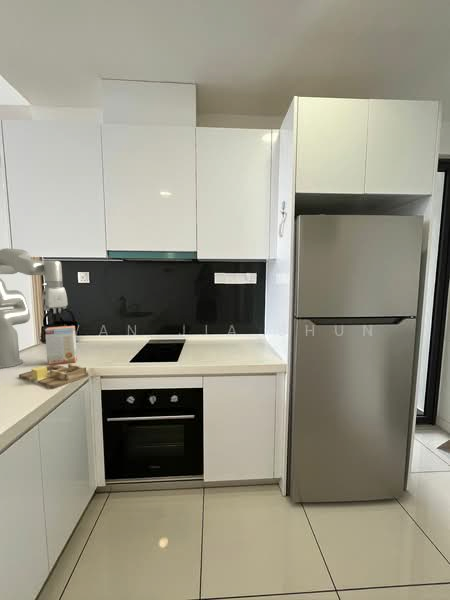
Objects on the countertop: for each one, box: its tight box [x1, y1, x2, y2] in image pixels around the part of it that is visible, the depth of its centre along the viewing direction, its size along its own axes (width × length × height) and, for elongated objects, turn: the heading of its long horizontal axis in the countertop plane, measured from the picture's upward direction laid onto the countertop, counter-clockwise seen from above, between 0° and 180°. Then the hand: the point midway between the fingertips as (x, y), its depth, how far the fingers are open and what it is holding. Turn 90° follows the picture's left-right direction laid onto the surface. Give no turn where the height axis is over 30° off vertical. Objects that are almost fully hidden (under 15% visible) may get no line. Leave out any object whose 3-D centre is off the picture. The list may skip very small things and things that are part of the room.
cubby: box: [49, 363, 87, 381], centre depth 131 cm, size 13×10×3 cm
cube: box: [31, 366, 48, 380], centre depth 128 cm, size 4×4×4 cm
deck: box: [18, 364, 89, 390], centre depth 133 cm, size 29×17×2 cm, turn 62°
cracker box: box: [44, 325, 78, 366], centre depth 154 cm, size 14×6×21 cm, turn 108°
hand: (56, 320), depth 138 cm, fingers closed
